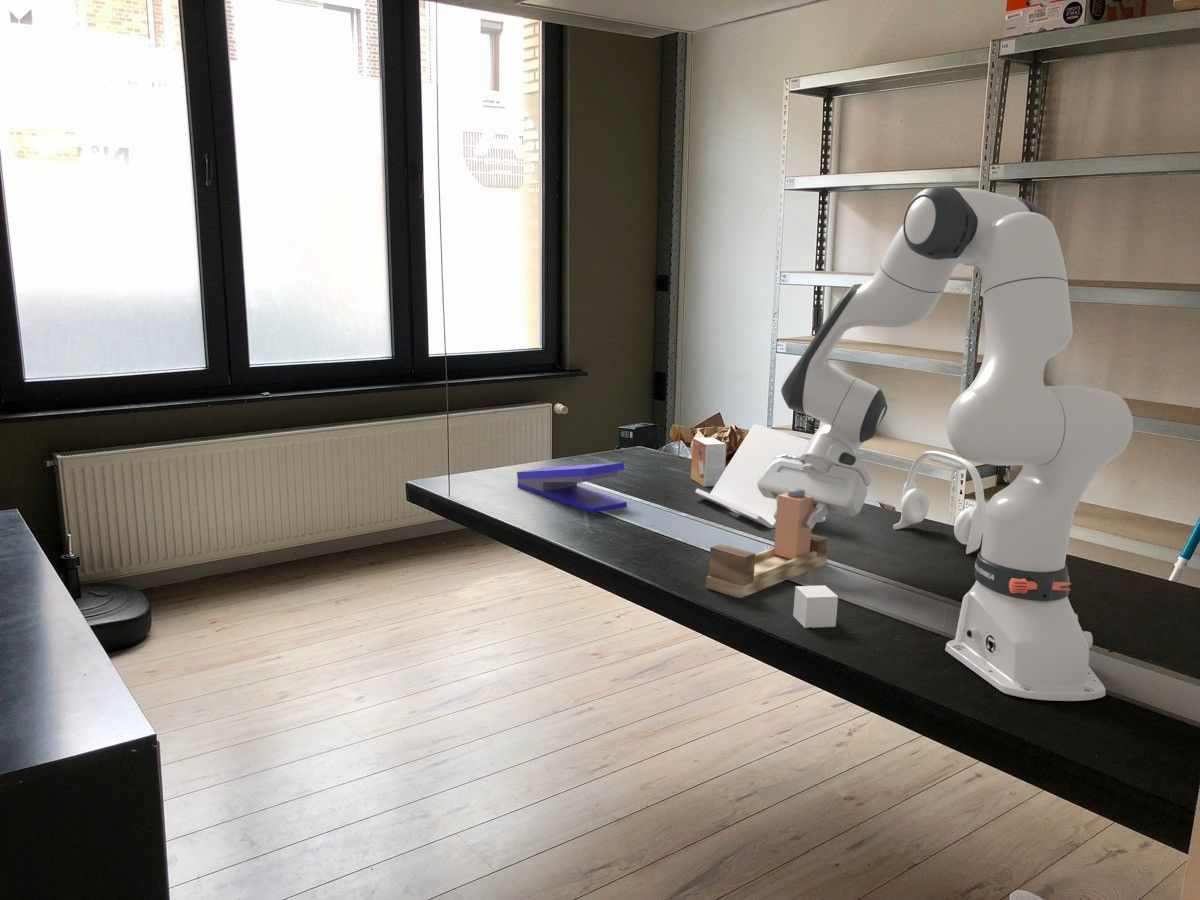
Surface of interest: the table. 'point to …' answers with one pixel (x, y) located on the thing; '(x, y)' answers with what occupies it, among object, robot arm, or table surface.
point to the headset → (918, 502)
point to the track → (758, 567)
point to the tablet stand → (753, 474)
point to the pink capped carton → (792, 524)
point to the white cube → (815, 606)
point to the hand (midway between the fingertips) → (792, 522)
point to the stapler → (572, 485)
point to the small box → (707, 461)
